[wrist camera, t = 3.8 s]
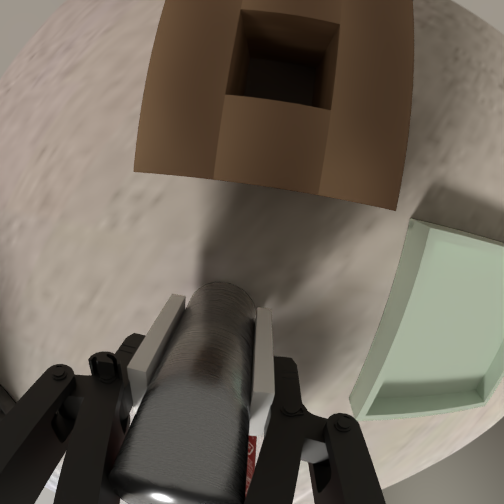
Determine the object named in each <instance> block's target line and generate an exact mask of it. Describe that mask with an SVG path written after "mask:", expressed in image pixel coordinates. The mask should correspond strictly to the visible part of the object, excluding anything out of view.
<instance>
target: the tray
mask: <svg viewBox="0 0 504 504" xmlns="http://www.w3.org/2000/svg"><path fill="white" fill-rule="evenodd" d="M503 377H504V243H502V242H499V241H496V240H492V239H489V238H485V237H482V236H478V235H475V234H471V233H467V232H464V231H460V230H456V229H452V228H449V227H445V226H441V225H437V224H433V223H429V222H425V221H420V220H416V219H412V218H410V222H409V226H408V231H407V235H406V239H405V243H404V247H403V251H402V254H401V258H400V262H399V265H398V269H397V272H396V276H395V279H394V282H393V286H392V289H391V292H390V295H389V298H388V301H387V304H386V307H385V310H384V313H383V316H382V319H381V322H380V325H379V327H378V330H377V333H376V335H375V338H374V341H373V343H372V346H371V348H370V351H369V353H368V356H367V358H366V361H365V363H364V366H363V368H362V370H361V373H360V375H359V377H358V379H357V382H356V384H355V386H354V388H353V391H352V393H351V395H350V397H349V401H350V404H351V408H352V411H353V415H354V418H355V419H356V420H357V421H373V420H391V419H403V418H414V417H423V416H431V415H438V414H445V413H451V412H457V411H463V410H468V409H473V408H478V407H483V406H485V405H486V403H487V402H488V401H489V399H490V397H491V396H492V394H493V393H494V391H495V390H496V388H497V386H498V385H499V383H500V382H501V380H502V378H503Z"/></svg>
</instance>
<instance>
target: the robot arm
mask: <svg viewBox="0 0 504 504" xmlns="http://www.w3.org/2000/svg"><path fill="white" fill-rule="evenodd" d="M185 299H186V296H182V295H176V294H172V295H171V297H170V298H169V300H168V302H167V303H166V305H165V306H164V308H163V309H162V311H161V313H160V314H159V316H158V317H157V319H156V320H155V322H154V324H153V325H152V327H151V328H150V330H149V332H148V333H147V335H146V336H145V335H140V334H136V333H133V334H132V335H130V336H128V337H127V338H126V339H125V340H124V342H123V343H122V345H121V346H120V347H119V349H118V350H117V352H116V353H115V354H114V353H111V352H98V353H95V354H93V355H92V356H91V357H90V358H89V359H88V360H89V365H90V369H91V374H92V375H89V376H86V375H74V371H73V370H72V368H71V367H69V366H67V365H64V364H56V365H53V366H51V367H50V368H48V369H47V370H46V371H45V372H44V373H43V374H42V376H41V377H40V378H39V379H38V380H37V381H36V382H35V383H34V384H33V385H32V386H31V387H30V389H29V390H28V391H27V392H26V393H25V394H24V395H23V396H22V397H21V399H20V400H19V401H18V402H17V403H15V402H14V401H13V400H12V398H11V397H10V396H9V395H8V394H7V392H6V391H5V390H4V389H3V388H2V387H1V386H0V504H34V503H35V501H36V500H37V498H38V497H39V495H40V493H41V491H42V490H43V488H44V486H45V485H46V483H47V481H48V480H49V478H50V476H51V475H52V473H53V471H54V470H55V468H56V466H57V465H58V463H59V462H60V460H61V458H62V457H63V455H64V453H65V452H66V454H65V458H64V461H63V465H62V469H61V473H60V477H59V481H58V485H57V489H56V494H55V498H54V503H53V504H120V498H119V497H118V496H117V495H116V493H115V492H114V490H113V488H112V486H111V484H110V482H109V480H108V476H109V473H110V471H111V469H112V466H113V464H114V462H115V459H116V457H117V455H118V452H119V450H120V448H121V445H122V443H123V441H124V439H125V436H126V434H127V432H128V430H129V426H130V414H129V412H130V410H131V408H132V406H133V410H134V413H135V414H136V412H137V410H138V407H139V405H140V403H141V401H142V399H143V396H144V394H145V392H146V390H147V388H148V386H149V383H150V381H151V379H152V377H153V375H154V373H155V371H156V369H157V366H158V364H159V362H160V360H161V358H162V356H163V354H164V352H165V350H166V348H167V346H168V344H169V341H170V339H171V337H172V335H173V333H174V331H175V329H176V327H177V325H178V323H179V321H180V319H181V317H182V315H183V313H184V311H185ZM298 379H299V378H298V371H297V365H296V363H295V362H294V361H293V359H292V358H287V357H277V356H273V335H272V314H271V309H269V308H261V307H257V312H256V318H255V330H254V348H253V366H252V384H251V401H250V427H249V435H250V436H260V437H263V433H264V440H263V443H262V447H261V450H260V453H259V457H258V460H257V463H256V466H255V470H254V473H253V476H252V479H251V482H250V485H249V488H248V491H247V494H246V497H245V502H244V504H292V503H293V498H294V493H295V488H296V482H297V477H298V471H299V466H300V460H303V461H306V462H308V465H309V471H310V477H311V483H312V489H313V496H314V502H315V504H386V503H385V500H384V497H383V493H382V490H381V487H380V484H379V481H378V478H377V475H376V472H375V469H374V466H373V463H372V460H371V457H370V454H369V451H368V448H367V445H366V443H365V440H364V437H363V434H362V431H361V428H360V426H359V423H358V422H357V420H356V419H355V418H353V417H352V416H350V415H348V414H344V413H337V414H333V415H332V416H330V417H329V418H328V419H326V418H322V417H319V416H316V415H313V414H311V413H310V412H308V411H307V409H306V407H305V406H304V405H303V404H302V400H301V392H300V385H299V380H298ZM66 450H67V451H66Z"/></svg>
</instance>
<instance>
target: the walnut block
mask: <svg viewBox="0 0 504 504" xmlns="http://www.w3.org/2000/svg"><path fill="white" fill-rule="evenodd" d="M413 73H414V17H413V0H165V4H164V7H163V11H162V14H161V18H160V21H159V25H158V29H157V33H156V37H155V41H154V45H153V49H152V54H151V58H150V63H149V68H148V73H147V78H146V83H145V89H144V94H143V100H142V106H141V113H140V120H139V127H138V134H137V143H136V152H135V161H134V172H143V173H155V174H166V175H177V176H187V177H196V178H205V179H213V180H222V181H230V182H237V183H245V184H252V185H259V186H265V187H272V188H279V189H285V190H291V191H297V192H303V193H309V194H314V195H320V196H325V197H331V198H336V199H341V200H346V201H352V202H356V203H361V204H366V205H371V206H376V207H380V208H385V209H389V210H394V211H396V207H397V203H398V197H399V192H400V187H401V181H402V176H403V170H404V163H405V157H406V150H407V142H408V134H409V126H410V116H411V105H412V91H413Z"/></svg>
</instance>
